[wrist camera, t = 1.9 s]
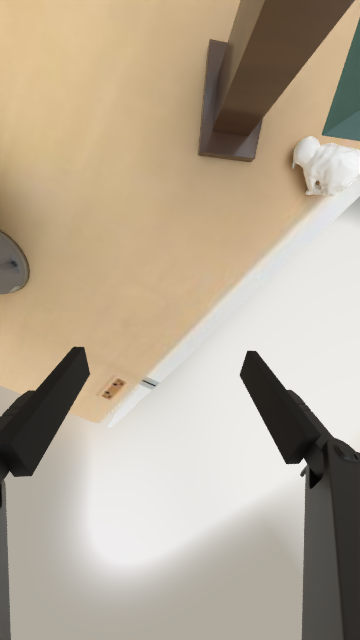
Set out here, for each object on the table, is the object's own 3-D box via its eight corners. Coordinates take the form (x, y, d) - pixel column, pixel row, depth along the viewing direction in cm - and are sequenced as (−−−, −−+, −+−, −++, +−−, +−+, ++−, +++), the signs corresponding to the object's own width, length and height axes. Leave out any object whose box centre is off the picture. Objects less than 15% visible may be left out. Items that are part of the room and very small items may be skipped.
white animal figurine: (349, 194, 30) (303, 146, 27) (314, 205, 37) (276, 169, 35) (383, 155, 27) (336, 99, 25) (338, 175, 35) (299, 135, 33)
